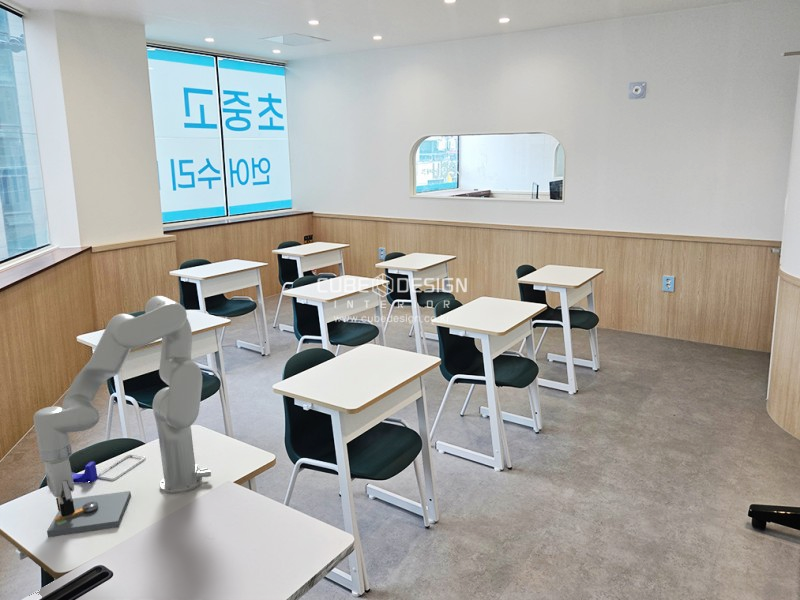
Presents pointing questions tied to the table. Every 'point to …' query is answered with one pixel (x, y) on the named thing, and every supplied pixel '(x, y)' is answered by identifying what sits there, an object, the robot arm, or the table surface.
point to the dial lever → (86, 508)
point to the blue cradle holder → (86, 474)
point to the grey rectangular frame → (123, 471)
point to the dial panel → (93, 515)
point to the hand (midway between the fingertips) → (66, 511)
